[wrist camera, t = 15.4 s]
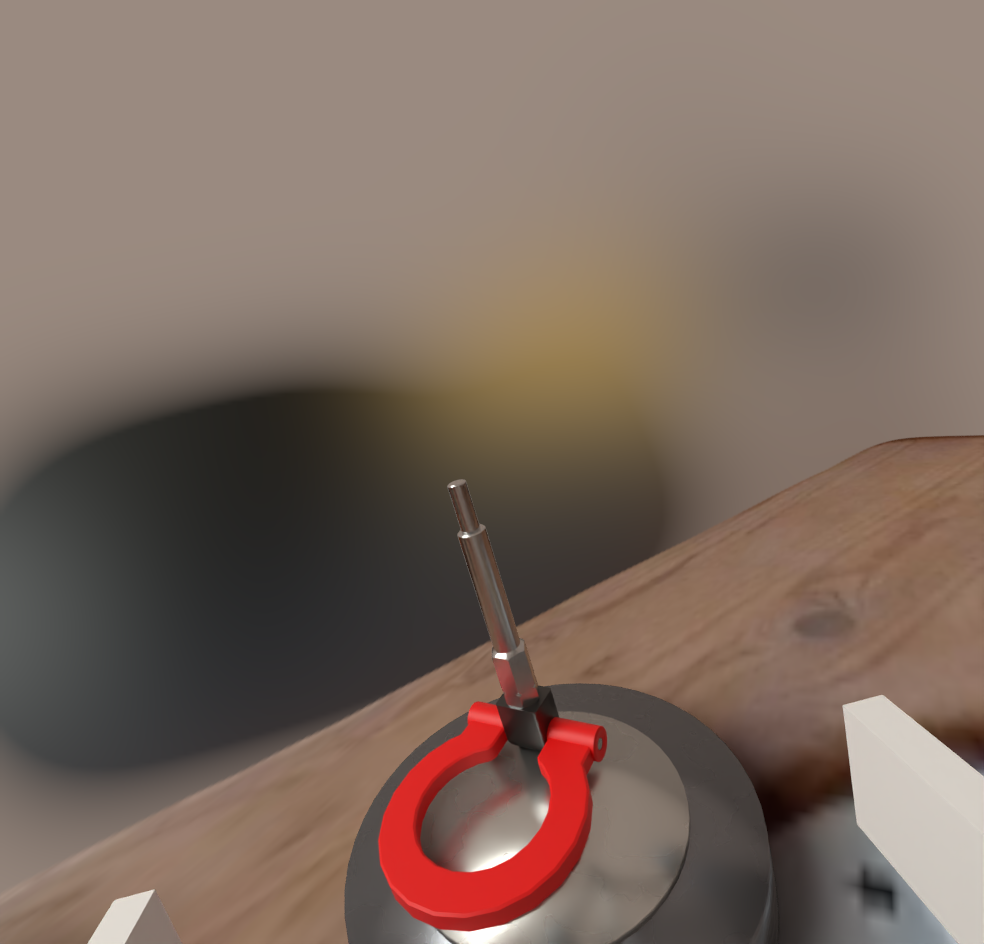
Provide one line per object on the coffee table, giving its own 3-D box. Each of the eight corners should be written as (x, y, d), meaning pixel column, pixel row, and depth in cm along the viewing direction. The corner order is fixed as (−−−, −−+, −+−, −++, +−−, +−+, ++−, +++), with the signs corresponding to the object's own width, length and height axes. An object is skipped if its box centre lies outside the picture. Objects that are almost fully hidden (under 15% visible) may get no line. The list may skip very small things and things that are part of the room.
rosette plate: (776, 743, 25) (768, 691, 25) (783, 1292, 12) (766, 1207, 11) (477, 709, 33) (465, 669, 32) (273, 1017, 19) (246, 958, 19)
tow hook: (532, 989, 16) (632, 749, 23) (392, 609, 13) (558, 466, 20) (343, 888, 21) (474, 715, 28) (205, 592, 18) (393, 482, 25)
